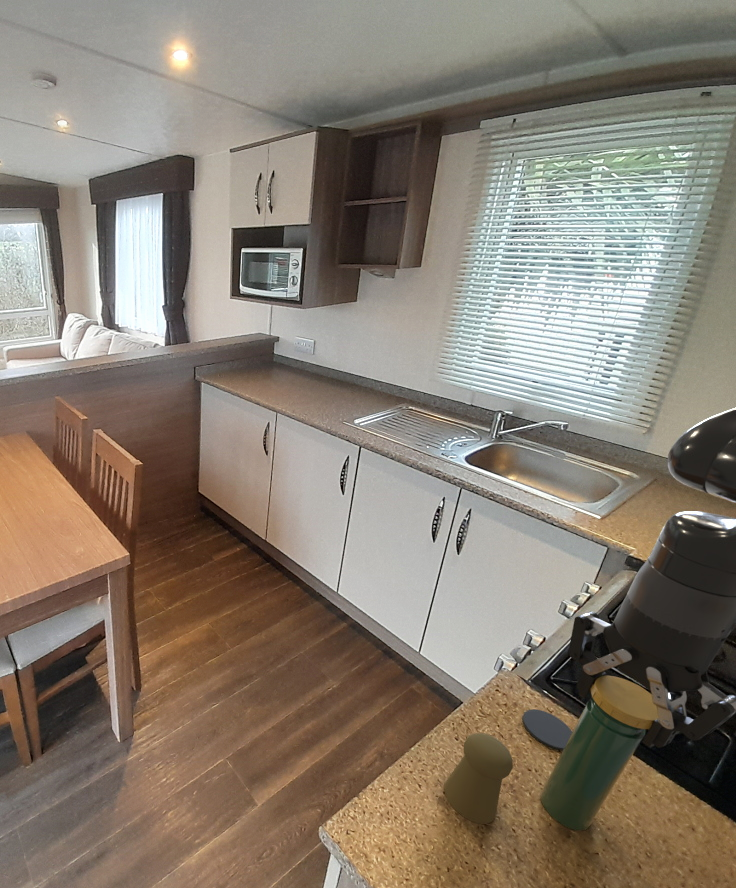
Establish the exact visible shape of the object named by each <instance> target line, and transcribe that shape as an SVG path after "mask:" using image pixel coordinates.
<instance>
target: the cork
mask: <svg viewBox="0 0 736 888" xmlns="http://www.w3.org/2000/svg"><path fill="white" fill-rule="evenodd" d="M513 762H514V761H513V757H512V755H511V752H510V750H509V749H508V747H507V746H506V745H505V744H504V743H502V741H501V740H500V739H498V738H496V737H494V736H493V735H491V734H488V733H484V732H474V733H472V734H470V735H468V736H467V737H466V739H465V740H464V743H463V757H462V758H461V760H460V761H459V762H458V763H457V765H456V766H455V768H454V769H453V771H452V772H451V773H450V775H449V776H448V778H447V779H446V781H445V782H444V785H443V786H444V787H443V791H444V795H445V798H446V800H447V802H448V803H449V805H450V806H451V807H452V808H453V809H454V810H455V812H456V813H458V814H459V815H461V816H462V818H464V819H466V820H468V821H470V822H472V823H475V824H480V825H487V824H488V825H489V824H491V823H492V822H493V821H494V820H495V818H496V817H497V811H498V805H499V798H500V794H501V788H502V782H503V780H504V779H506V778H507V777H509V776H510V774H511V772H512V770H513V768H514V767H513V766H514V763H513Z"/></svg>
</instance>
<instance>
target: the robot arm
mask: <svg viewBox="0 0 736 888" xmlns="http://www.w3.org/2000/svg"><path fill="white" fill-rule="evenodd" d="M667 468H668V471H669V473H670V475H671V476H672V477H673V478H674V479H675V480H676V481H677V482H679V483H680V484H682V485H684V486H686V487H688V488H691V489H694V490H697V491H699V492H702V493H704V494H708V495H711V496H714V497H716V498H720V499H723V500H726V501H728V502H731V503H733V504H736V407H735V408H732V409H728V410H726V411H722V412H721V413H718V414H715V415H713V416H710V417H708V418H706V419H704V420H703V421H701V422H699V423H697V424H695V425H693V426H692V427H690V428H689V429H688V430H686V431H685V432H684V433H682V434H681V435H680V436H679V437H678V438H677V439H676V441H675V442H674V443H673V444H672V446H671V448H670V449H669V452H668V455H667ZM735 629H736V517H734V516H728V515H723V514H718V513H714V512H713V513H712V512H706V511H702V510H701V511H699V510H684V511H679V512H676V513H674V514H673V515H671V516H670V517H669V518H668V519H667V520H666V522H665V523H664V525H663V527H662V529H661V531H660V533H659V536H658V538H657V539H656V541H655V544H654V546H653V547H652V550H651V551H650V554H649V556H648V557H647V559H646V561H645V562H644V563H643V565H642V566H641V567H640V568H639V570H638V571H637V573H636V574H635V577H634V578H633V581H632V583H631V584H630V586H629V589H628V591H627V593H626V595H625V597H624V599H623V601H622V603H621V604H620V607H619V609H618V611H617V614H616V615H615V617H614V620H613V622H612V623H608V622H606V621H604V620H602V619H600V615H598V613H596V612H595V611H589V612H586V613H583V614H580V615H577V616H575V617H574V620H573V626H572V630H571V636H570V641H569V647H568V652H567V653H568V656H569V657H570V658H571V659H573V660H575V661H577V662H579V664H580V665H581V666H582V671H581V674H580V675H579V678H578V680H577V682H576V689H577V690H579V692H578V695H579V696H580V697H581V698H582V699H584V700H589V699H591V698H592V695H591V690H590V689H591V687H592V685H594V683H595V681H596V679H597V678H599V677H602V676H607V673H606V672H605V671H608V670H610V669H612V668H614V667H618V668H617V670H618V671H620V672H621V673H623V674H624V675H626V676H628V677H630V678H633V679H634V680H636V681H637V683H639V684H640V685H642V686H643V687H644V688H646V689H647V690H648V691H650V694H651V695H652V701H653V704H654V705H656V707H657V712H658V719H657V720H655V721H654V722H653V724H652V725H651V727H650V729H649V730H648V729H647V730H648V731H647V732H646V733H645V736H644V737H643V739H642V741H641V743H643V744H644V745H646V746H647V747H649V748H652V747H656V748H657V749H660V748H663V747H665V746H667V745H669V744H671V743H672V741H673V739H674V738H675V736H676V735H677V733H678V732H680V733H682V734H683V736H685V737H686V739H689V740H691V741H693V742H697V741H699V740H701V739H702V738H703V737H705V736H706V735H709V734H711V733H713V732H714V731H715V730H717V729H718V728H719V727H721V725H723V724H724V723H725V722H727V721H728V720H729V719H731V718H732V717H733V716H734V715H735V714H736V695H733V694H729V695H726V694H725V693H724V692H722V691H721V690H719V689H718V688H716V687H715V685H712V683H710V682H709V676H708V670H709V667H710V666H711V665H712V662H713V661H714V660H715V658H716V656H717V655H718V653H719V651H720V650H721V648H722V647H723V645H724V643H725V642H726V640H727V638H728V637H729V636H730V634H731V632H733V631H734V630H735ZM601 634H603V637H604V640H605V643H606V645H607V648H608V650H609V654H606V655H603V656H602V657H599V658H598V657H597V656H596V655H595V654H594V648H595V643H596V638H597V636H599V635H601ZM694 691H697V692H699V694H700V695H701V699H700V704H701V706H700V707H702V709H704V711H703V712H702V713H700V714H699V715H698V716H697V717H695V718H694V719H693V718H691V717H689V716H688V714H687V707H686V703H687V700H688V696H687V692H694Z"/></svg>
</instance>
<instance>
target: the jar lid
mask: <svg viewBox="0 0 736 888" xmlns="http://www.w3.org/2000/svg"><path fill="white" fill-rule="evenodd" d="M590 690H591V695H592V697H591V699H592V698H593V699H594V701H595V702H596V703H597V705H598V706H599V707H600V708H601V709H602V710H604V711H605V712H606V713H607V714H609V715H610V716H612V717H613V718H615V719H617V720H618V721H620V722H622V723H625V724H627V725H629V726H632V727H636V728H640V729H645V730H649V729H650V727H651V725H652V724H653V722H654V721H655V720H657V719H658V712H657V707H656V705H654V704H653V701H652V695H651V692H649V690H648V691H647V690H646V689H645V688H643V687H642V686H640V685H638V684H637V683H634V682H632V681H630V680H628V679H625V678H622V677H618V676H615V675H606V676H602V677H599V678H597V679H596V681H595V683H594V685H592V687H591V689H590Z"/></svg>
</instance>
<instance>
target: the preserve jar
mask: <svg viewBox="0 0 736 888" xmlns="http://www.w3.org/2000/svg"><path fill="white" fill-rule="evenodd" d="M571 731H572V733H571V735H570V737H569V739H568V741H567V743H566V745H565V747H564V749H563V750H561V753H560V755H559V757H558V759H557V761H556V762H555V764H554V767H553V768H552V771H551V773H550V774H549V776H548V778H547V779H546V782H545V784H544V786H543V788H542V790H541V792H540V795H539V797H540V801H541V805H542V806H543V808H544V809H545V810H546V812H547V813H548V814H549V815H550V816H551V817H552V818H553V819H554V820H555V821H556V822H558V823H559V824H561V825H562V826H564V827H567V828H568V829H571V830H574V831H580V832H581V831H586V830H588V829H589V828H590V826H591V825H592V823H593V821H594V820H595V818H596V816H597V815H598V813H599V812H600V810H601V809H602V806H604V805H603V804H604V803H605V802H606V800H607V798H608V797H609V795H610V793H612V792H611V791H612V790H613V788H614V787H615V785H616V783H618V780H620V777H621V775H622V773H623V772H624V770H625V769H626V767H627V766H628V764H629V762H630V761H631V759H632V757H633V755H635V752H636V750H638V747H639V745H640V744H641V743H642V741H643V739H644V737H645V735H646V729H640V728H636V727H632V726H629V725H627V724H625V723H622V722H620V721H618V720H617V719H615V718H613V717H612V716H610V715H609V714H607V713H606V712H605V711H604V710H602V709H601V708H600V707H599V706H598V705H597V703H596V702H595V701H594V699H593V698H592V697H591V698H590V699H588V701H587V702H586V704H585V706H584V708H583V710H582V712H581V714H580V716H579V718H578V720H577V722H576V724H575V726H574V727H573V730H571Z"/></svg>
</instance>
